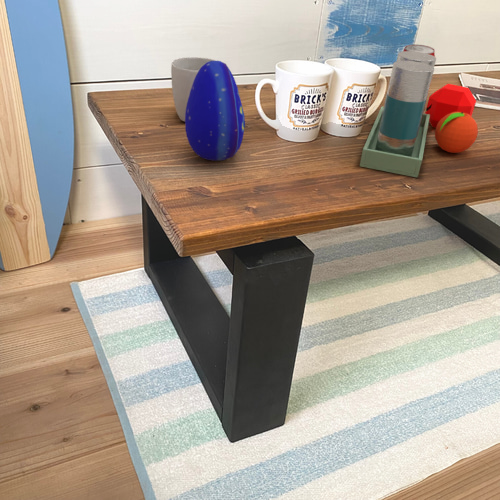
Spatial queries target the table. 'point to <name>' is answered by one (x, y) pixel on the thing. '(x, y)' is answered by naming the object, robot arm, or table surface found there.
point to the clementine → (456, 132)
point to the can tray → (394, 161)
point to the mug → (184, 80)
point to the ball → (449, 102)
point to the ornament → (214, 113)
